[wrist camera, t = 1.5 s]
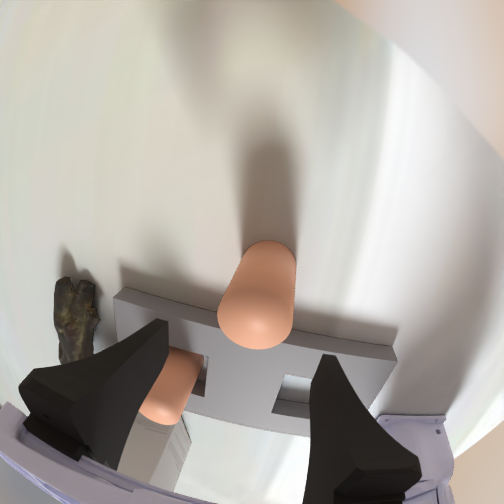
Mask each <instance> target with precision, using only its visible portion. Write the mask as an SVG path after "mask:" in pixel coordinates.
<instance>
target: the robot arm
mask: <svg viewBox="0 0 504 504" xmlns="http://www.w3.org/2000/svg"><path fill="white" fill-rule="evenodd" d="M168 355H169V323H168V321H166V320H162V319H158V318H156V319H154V320H153V321H151V322H150V323H148V324H147V325H145V326H144V327H142V328H141V329H139V330H138V331H136V332H135V333H133V334H132V335H130V336H128V337H127V338H125V339H124V340H122V341H120V342H118V343H117V344H115V345H113V346H111V347H109V348H107V349H105V350H103V351H101V352H99V353H96V354H94V355H92V356H89V357H86V358H83V359H80V360H77V361H74V362H70V363H67V364H62V365H58V366H52V367H45V368H36V369H33V370H32V371H31V372H30V374H29V375H28V376H27V377H26V378H25V379H24V380H23V381H22V382H21V384H20V385H19V387H18V388H19V393H20V395H21V397H22V399H23V401H24V403H25V404H26V406H27V408H28V409H29V411H30V415H29V416H28V417H27V416H26V415H25V414H24V413H23V412H22V411H20V410H19V409H17V408H16V407H15V406H13V405H12V404H11V403H9V402H6V403H5V404H4V406H3V407H2V408H1V409H0V456H1V457H2V458H3V459H4V460H5V461H6V462H7V463H8V464H9V465H11V466H12V467H13V468H14V469H16V470H17V471H18V472H19V473H21V474H22V475H23V476H25V477H26V478H27V479H29V480H30V481H31V482H33V483H34V484H35V485H37V486H38V487H39V488H41V489H42V490H44V491H45V492H47V493H48V494H50V495H51V496H53V497H54V498H56V499H57V500H59V501H60V502H62V503H63V504H216V503H212V502H208V501H203V500H199V499H196V498H192V497H188V496H185V495H181V494H178V493H174V492H171V491H168V490H165V489H162V488H159V487H156V486H153V485H150V484H147V483H145V482H142V481H139V480H137V479H134V478H132V477H129V476H127V475H124V474H122V473H120V472H117V469H118V465H119V462H120V459H121V456H122V453H123V450H124V447H125V444H126V441H127V438H128V436H129V433H130V431H131V428H132V425H133V423H134V421H135V418H136V416H137V414H138V411H139V409H140V407H141V405H142V403H143V402H144V400H145V398H146V397H147V395H148V393H149V392H150V390H151V388H152V386H153V385H154V383H155V381H156V380H157V378H158V376H159V375H160V373H161V371H162V369H163V367H164V364H165V362H166V360H167V357H168ZM309 409H310V439H311V442H310V457H309V466H308V473H307V481H306V487H305V492H304V498H303V503H302V504H455V502H454V497H453V494H452V490H451V487H450V486H449V485H448V482H449V480H450V479H451V477H452V474H453V469H454V458H453V454H452V451H451V447H450V444H449V441H448V437H447V434H446V431H445V428H444V425H443V423H444V421H445V420H446V416H401V415H381V416H380V417H379V418H378V419H377V420H375V419H374V418H373V416H372V415H371V414H370V413H369V411H368V410H367V409H366V407H365V406H364V405H363V403H362V402H361V400H360V398H359V397H358V395H357V394H356V392H355V390H354V389H353V387H352V385H351V383H350V382H349V380H348V378H347V376H346V374H345V372H344V370H343V368H342V367H341V365H340V363H339V360H338V359H337V357H336V355H329V354H323V355H322V357H321V360H320V362H319V365H318V367H317V370H316V372H315V375H314V377H313V380H312V382H311V388H310V399H309Z"/></svg>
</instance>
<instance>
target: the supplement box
mask: <svg viewBox="0 0 504 504" xmlns="http://www.w3.org/2000/svg"><path fill="white" fill-rule="evenodd" d="M190 446H191V441H190V439H189V436H188V434H187V431H186V429H185V426H184V423H183V421H182V418H181V417H180V419H179V421H178V422H177V423H176V424H173V425H164V424H160V423H157V422H154V421H152V420H150V419H148V418H147V417H145V416H144V415H143V414H141V413H140V412H139V411H138V414H137V416H136V418H135V421H134V423H133V425H132V428H131V431H130V433H129V436H128V438H127V441H126V444H125V447H124V450H123V453H122V456H121V459H120V462H119V465H118V469H117V472H120V473H122V474H124V475H127V476H129V477H132V478H134V479H137V480H139V481H142V482H145V483H147V484H150V485H153V486H156V487H159V488H162V489H165V490H168V491H171V492H173V491H174V488H175V485H176V483H177V480H178V477H179V475H180V472H181V469H182V467H183V464H184V461H185V459H186V456H187V453H188V451H189V448H190Z"/></svg>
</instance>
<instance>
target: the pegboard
mask: <svg viewBox="0 0 504 504" xmlns="http://www.w3.org/2000/svg"><path fill="white" fill-rule="evenodd" d="M113 302H114V313H115V323H116V331H117V339H118V342H120V341H122V340H124V339H125V338H127V337H128V336H130V335H132V334H133V333H135V332H136V331H138V330H139V329H141V328H142V327H144V326H145V325H147V324H148V323H150V322H151V321H153V320H154V319H156V318H158V319H162V320H166V321H168V323H169V345H170V346H173V347H176V348H180V349H183V350H187V351H190V352H194V353H197V354H201V355H205V356H208V357H209V358H208V367H207V377H206V382H203V381H200V380H196V382H195V385H194V387H193V389H192V392H191V394H190V396H189V398H188V401H187V403H186V405H185V408H184V410H185V411H189V412H192V413H195V414H199V415H202V416H206V417H210V418H213V419H217V420H221V421H225V422H229V423H233V424H238V425H242V426H247V427H252V428H256V429H261V430H267V431H272V432H278V433H284V434H290V435H297V436H304V437H310V409H309V404H305V403H299V402H293V401H287V400H282V399H276V398H277V395H278V392H279V389H280V387H281V384H282V381H283V378H284V375H285V374H287V375H293V376H298V377H304V378H310V379H313V377H314V375H315V372H316V370H317V367H318V365H319V362H320V360H321V357H322V355H323V354H329V355H336V357H337V359H338V360H339V363H340V365H341V367H342V368H343V370H344V372H345V374H346V376H347V378H348V380H349V382H350V383H351V385H352V387H353V389H354V390H355V392H356V394H357V395H358V397H359V398H360V400H361V402H362V403H363V405H364V406H365V407H366V409H367V410H368V409H369V407H370V406H371V404H372V403H373V401H374V400H375V398H376V397H377V395H378V393H379V392H380V390H381V389H382V387H383V385H384V384H385V382H386V380H387V379H388V377H389V375H390V374H391V372H392V370H393V369H394V367H395V365H396V363H397V362H398V361H397V358H396V355H395V353H394V350H393V347H391V346H384V345H377V344H371V343H364V342H358V341H352V340H346V339H340V338H335V337H329V336H323V335H318V334H313V333H308V332H302V331H297V330H292V329H291V331H290V333H289V335H288V336H287V338H286V339H285V340H284V341H283V342H281V343H280V344H278V345H276V346H274V347H271V348H268V349H249V348H245V347H242V346H240V345H238V344H236V343H234V342H233V341H231V340H230V339H229V338H228V337H227V336H226V335H225V334H224V333H223V331H222V330H221V328H220V326H219V323H218V318H217V312H213V311H209V310H205V309H201V308H197V307H193V306H190V305H186V304H182V303H178V302H175V301H171V300H167V299H164V298H160V297H157V296H153V295H150V294H146V293H143V292H140V291H136V290H133V289H130V288H126V287H124V288H123V289H122V290H121V291H120V292H119V293H118V294H116V295H115V296H114V297H113Z"/></svg>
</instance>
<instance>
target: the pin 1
mask: <svg viewBox="0 0 504 504" xmlns="http://www.w3.org/2000/svg"><path fill="white" fill-rule="evenodd" d="M203 364H204V358H203V355H201V354H197V353H194V352H190V351H187V350H183V349H180V348H176V347H173V346H170V345H169V355H168V357H167V360H166V362H165V364H164V367H163V369H162V371H161V373H160V375H159V376H158V378H157V380H156V381H155V383H154V385H153V386H152V388H151V390H150V392H149V393H148V395H147V397H146V398H145V400H144V402H143V403H142V405H141V407H140V409H139V412H140V413H141V414H143V415H144V416H145V417H147V418H148V419H150V420H152V421H154V422H157V423H160V424H164V425H173V424H176V423H177V422H178V421H179V419H180V417H181V414H182V412H183V410H184V408H185V405H186V403H187V401H188V398H189V396H190V394H191V392H192V389H193V387H194V385H195V382H196V380H197V378H198V375H199V373H200V371H201V369H202V366H203Z"/></svg>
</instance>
